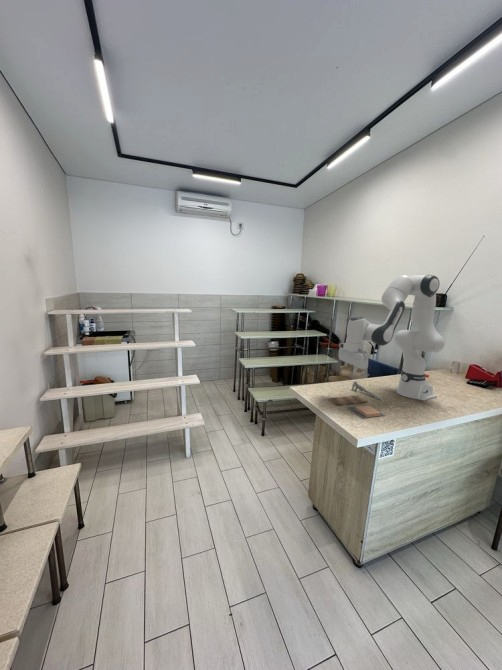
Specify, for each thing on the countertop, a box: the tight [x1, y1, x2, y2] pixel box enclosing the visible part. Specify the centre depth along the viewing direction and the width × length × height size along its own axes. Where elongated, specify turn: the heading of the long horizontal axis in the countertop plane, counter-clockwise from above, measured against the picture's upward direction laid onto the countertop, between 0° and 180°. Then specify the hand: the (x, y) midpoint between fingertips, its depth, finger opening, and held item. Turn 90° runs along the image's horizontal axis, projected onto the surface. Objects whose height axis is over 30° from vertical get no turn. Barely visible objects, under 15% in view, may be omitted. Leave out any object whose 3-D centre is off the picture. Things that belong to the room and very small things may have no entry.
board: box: [327, 395, 369, 407], centre depth 141 cm, size 20×8×1 cm, turn 106°
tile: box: [355, 405, 382, 418], centre depth 128 cm, size 8×2×8 cm
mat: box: [346, 405, 386, 420], centre depth 129 cm, size 14×12×1 cm
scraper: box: [339, 364, 370, 377], centre depth 139 cm, size 5×16×5 cm, turn 106°
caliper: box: [351, 380, 385, 402], centre depth 151 cm, size 20×1×6 cm, turn 33°
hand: (351, 372), depth 138 cm, fingers closed on scraper, 3 cm apart
